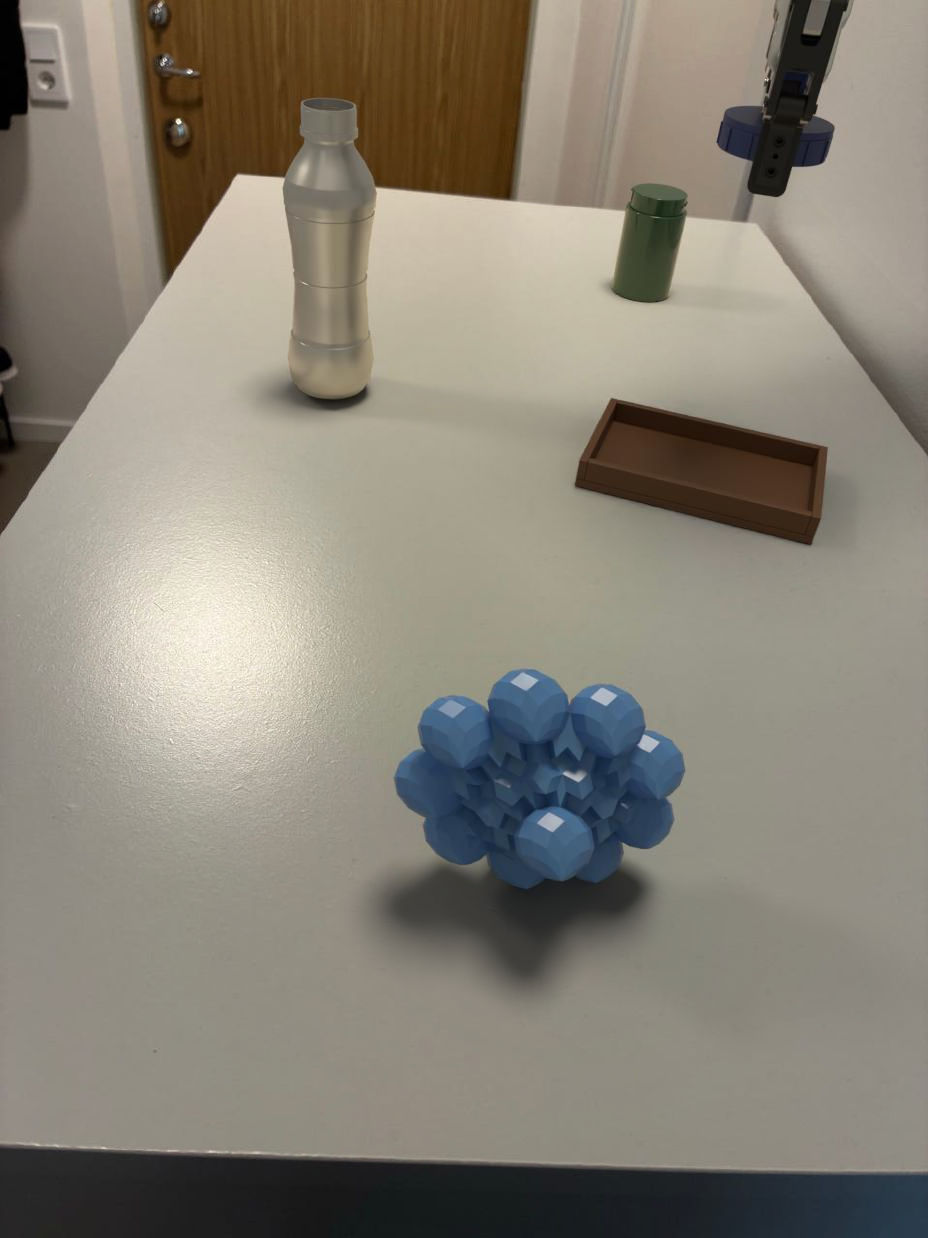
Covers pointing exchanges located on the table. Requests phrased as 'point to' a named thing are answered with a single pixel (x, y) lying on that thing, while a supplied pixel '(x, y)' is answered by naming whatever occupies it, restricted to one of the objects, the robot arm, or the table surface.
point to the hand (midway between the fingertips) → (765, 177)
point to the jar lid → (745, 129)
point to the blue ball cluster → (540, 780)
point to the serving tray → (706, 469)
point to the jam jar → (650, 242)
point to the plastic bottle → (329, 252)
